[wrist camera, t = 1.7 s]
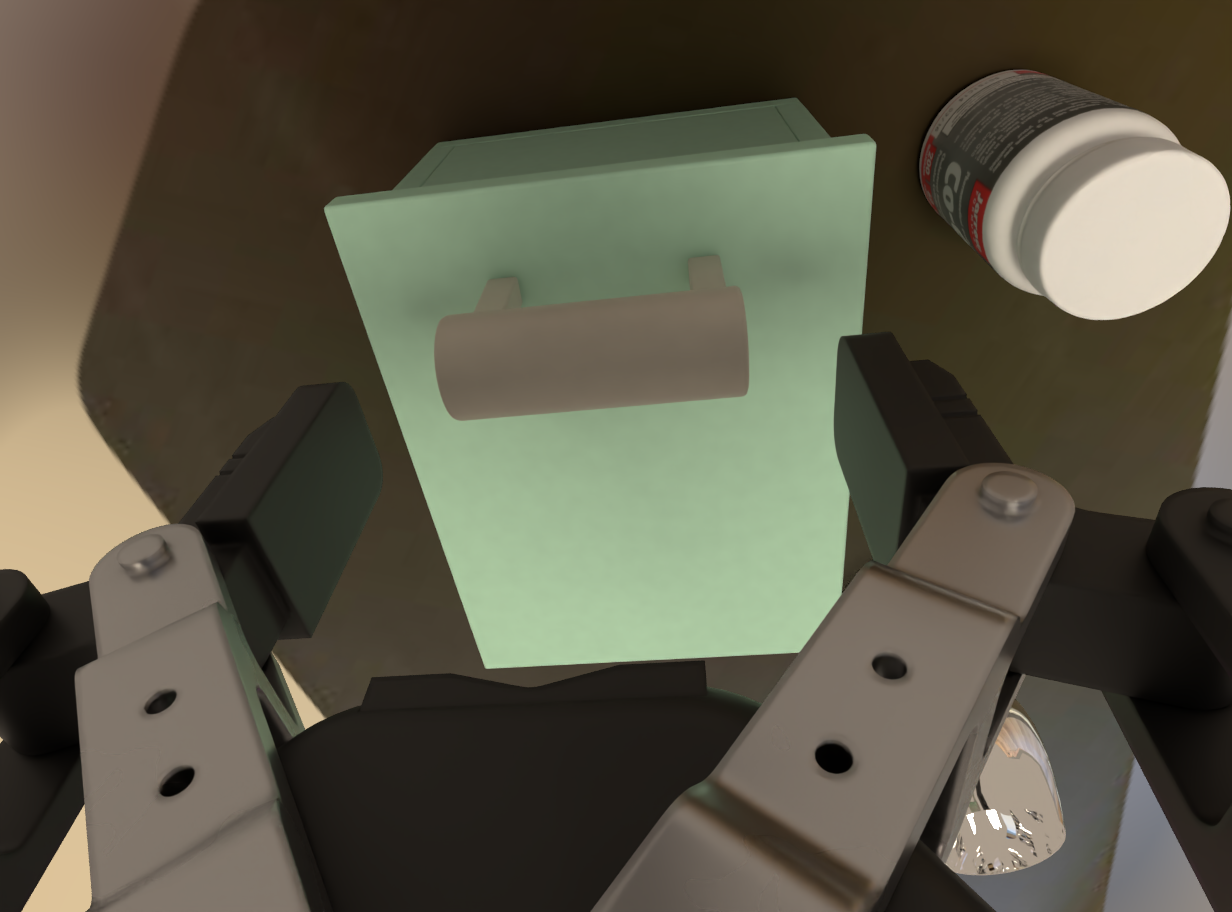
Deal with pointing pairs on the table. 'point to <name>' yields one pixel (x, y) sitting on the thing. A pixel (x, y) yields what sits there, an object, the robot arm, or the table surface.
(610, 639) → the bin lid
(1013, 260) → the pill bottle
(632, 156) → the bin
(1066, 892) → the table surface
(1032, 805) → the wineglass
